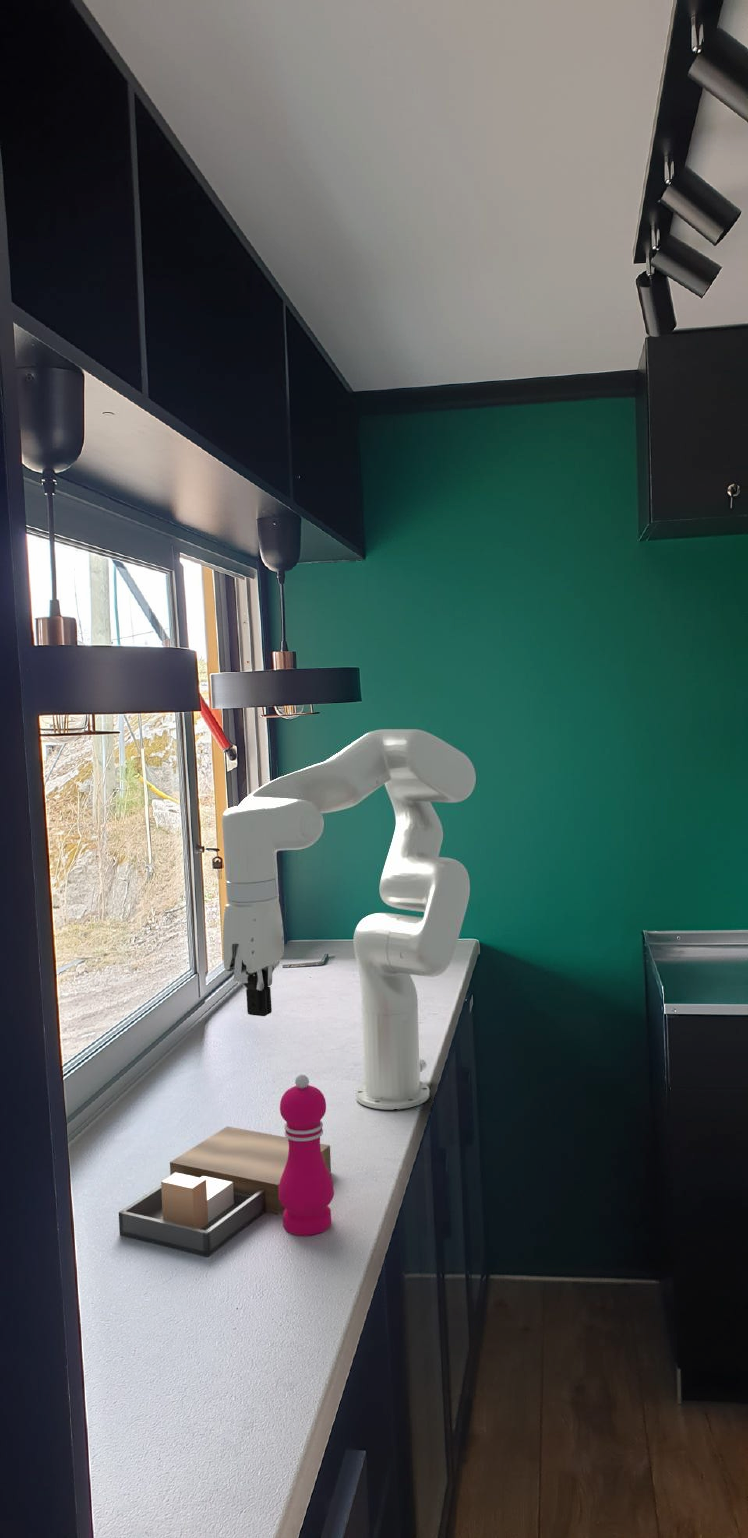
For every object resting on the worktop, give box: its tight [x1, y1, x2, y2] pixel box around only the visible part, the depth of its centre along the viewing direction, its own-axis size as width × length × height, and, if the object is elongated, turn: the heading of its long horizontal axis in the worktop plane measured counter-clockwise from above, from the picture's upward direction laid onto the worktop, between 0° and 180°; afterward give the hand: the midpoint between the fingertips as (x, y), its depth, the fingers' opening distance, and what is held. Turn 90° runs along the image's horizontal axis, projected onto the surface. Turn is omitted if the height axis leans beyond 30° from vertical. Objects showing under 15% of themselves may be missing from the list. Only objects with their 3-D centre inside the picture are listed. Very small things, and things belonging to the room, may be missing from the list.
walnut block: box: [169, 1126, 332, 1215], centre depth 159 cm, size 14×18×4 cm
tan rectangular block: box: [160, 1172, 208, 1229], centre depth 145 cm, size 6×5×3 cm
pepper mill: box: [279, 1074, 335, 1237], centre depth 145 cm, size 7×7×20 cm
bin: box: [118, 1172, 266, 1258], centre depth 147 cm, size 13×14×3 cm
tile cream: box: [200, 1176, 234, 1222], centre depth 149 cm, size 6×5×3 cm
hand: (259, 1013), depth 163 cm, fingers closed
